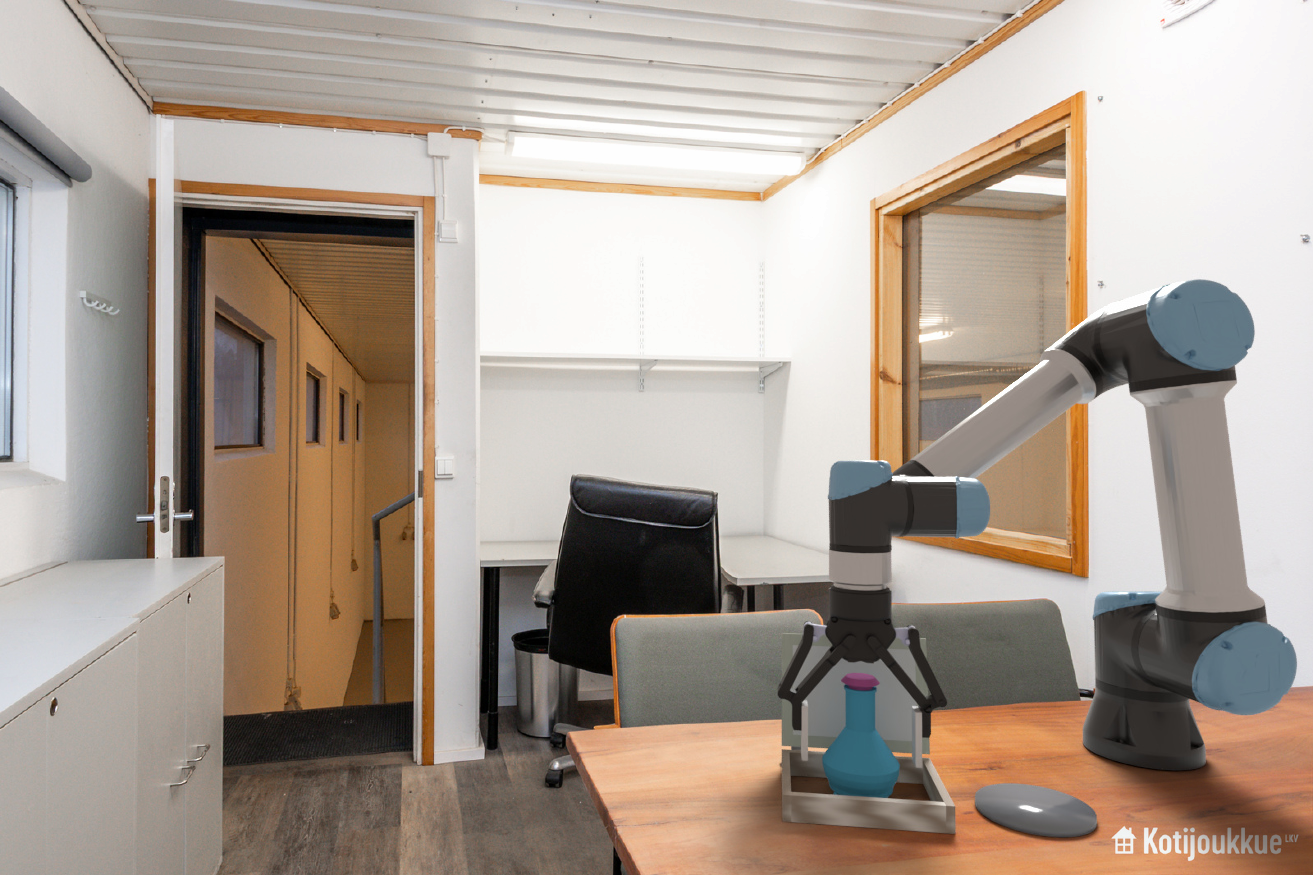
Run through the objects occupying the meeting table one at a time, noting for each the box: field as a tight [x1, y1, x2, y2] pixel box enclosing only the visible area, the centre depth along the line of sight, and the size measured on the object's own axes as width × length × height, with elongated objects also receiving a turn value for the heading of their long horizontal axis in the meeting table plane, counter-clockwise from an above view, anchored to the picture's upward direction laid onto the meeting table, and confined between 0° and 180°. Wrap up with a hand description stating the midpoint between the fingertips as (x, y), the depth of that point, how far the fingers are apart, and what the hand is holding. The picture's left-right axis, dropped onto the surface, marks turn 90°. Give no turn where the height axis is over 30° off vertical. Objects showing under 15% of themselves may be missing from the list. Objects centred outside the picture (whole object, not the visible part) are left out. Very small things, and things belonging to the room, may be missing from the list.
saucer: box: [974, 782, 1098, 838], centre depth 94 cm, size 13×13×1 cm
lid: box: [781, 632, 931, 755], centre depth 105 cm, size 19×15×1 cm
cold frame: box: [781, 748, 957, 835], centre depth 97 cm, size 19×15×3 cm
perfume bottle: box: [822, 673, 900, 798], centre depth 97 cm, size 9×9×15 cm
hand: (860, 760), depth 97 cm, fingers open, 13 cm apart
